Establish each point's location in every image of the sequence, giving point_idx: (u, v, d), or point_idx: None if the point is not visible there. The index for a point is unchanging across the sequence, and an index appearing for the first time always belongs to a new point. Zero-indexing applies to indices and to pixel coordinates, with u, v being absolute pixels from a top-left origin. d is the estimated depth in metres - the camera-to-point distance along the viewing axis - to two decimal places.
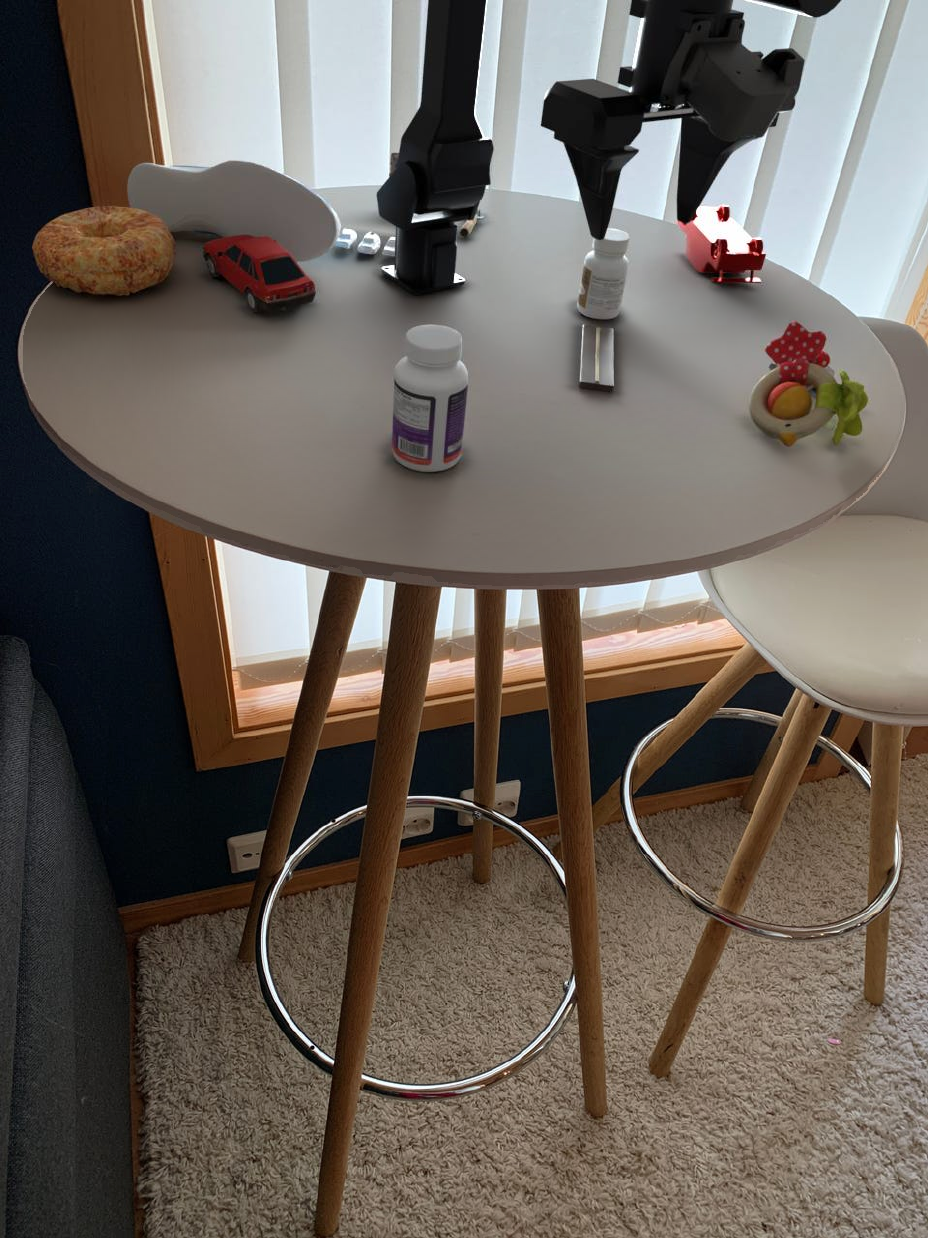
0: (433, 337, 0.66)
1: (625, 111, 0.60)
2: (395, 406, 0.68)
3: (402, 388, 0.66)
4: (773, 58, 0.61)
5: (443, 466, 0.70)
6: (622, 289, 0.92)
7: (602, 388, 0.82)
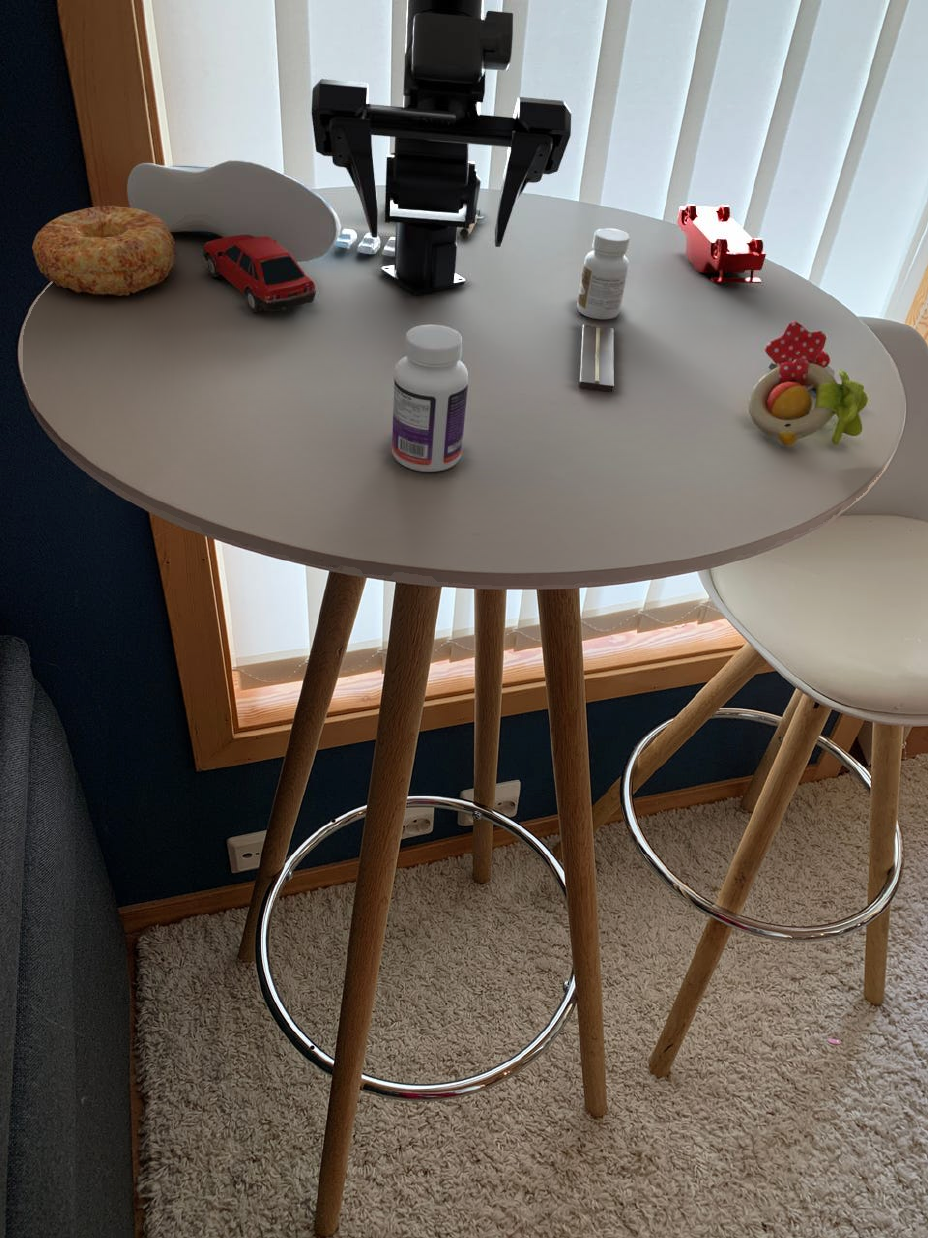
0: (433, 337, 0.66)
1: (345, 84, 0.66)
2: (395, 406, 0.68)
3: (402, 388, 0.66)
4: None
5: (443, 466, 0.70)
6: (622, 289, 0.92)
7: (602, 388, 0.82)
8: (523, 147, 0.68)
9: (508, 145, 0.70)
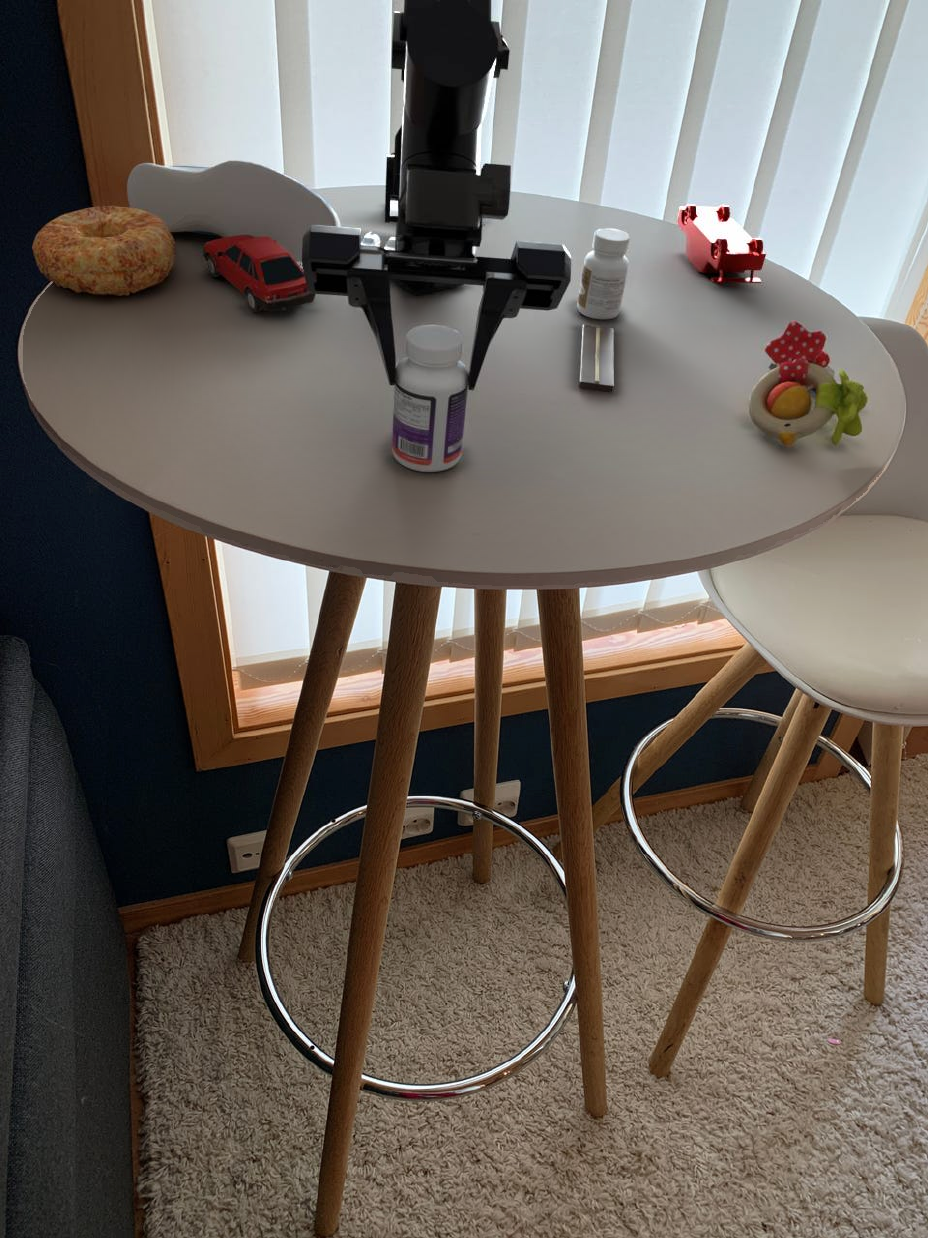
0: (434, 337, 0.66)
1: (337, 232, 0.64)
2: (395, 406, 0.68)
3: (402, 388, 0.66)
4: (482, 173, 0.62)
5: (443, 466, 0.70)
6: (622, 289, 0.92)
7: (602, 388, 0.82)
8: (497, 292, 0.65)
9: (482, 284, 0.68)
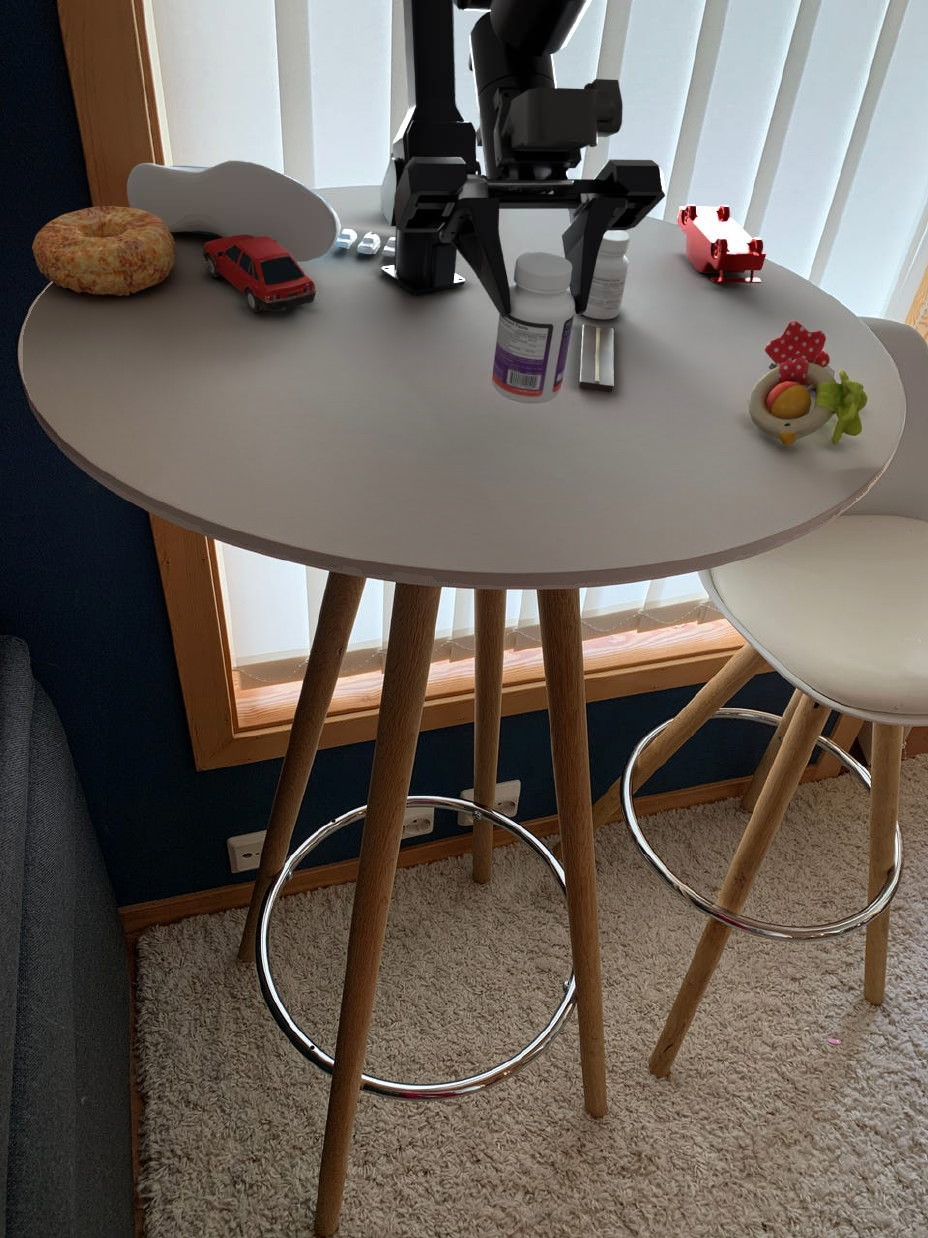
0: (544, 263, 0.65)
1: (442, 162, 0.62)
2: (505, 339, 0.67)
3: (518, 319, 0.66)
4: None
5: (552, 395, 0.70)
6: (622, 289, 0.92)
7: (602, 388, 0.82)
8: (600, 212, 0.65)
9: (573, 207, 0.68)
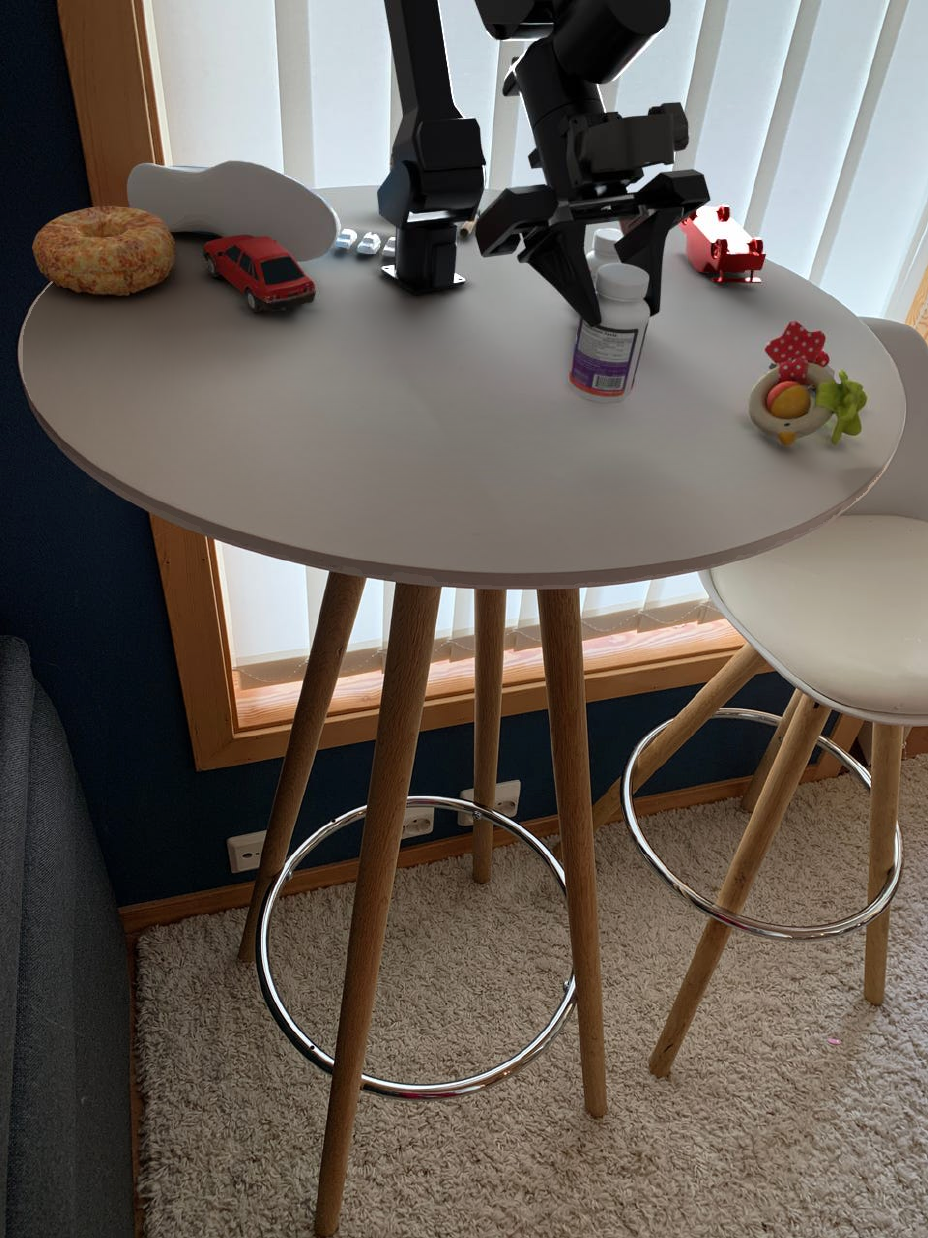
0: (624, 273, 0.71)
1: (534, 190, 0.66)
2: (591, 347, 0.73)
3: (607, 327, 0.71)
4: (652, 113, 0.67)
5: (629, 392, 0.76)
6: None
7: None
8: (664, 221, 0.71)
9: (629, 218, 0.73)
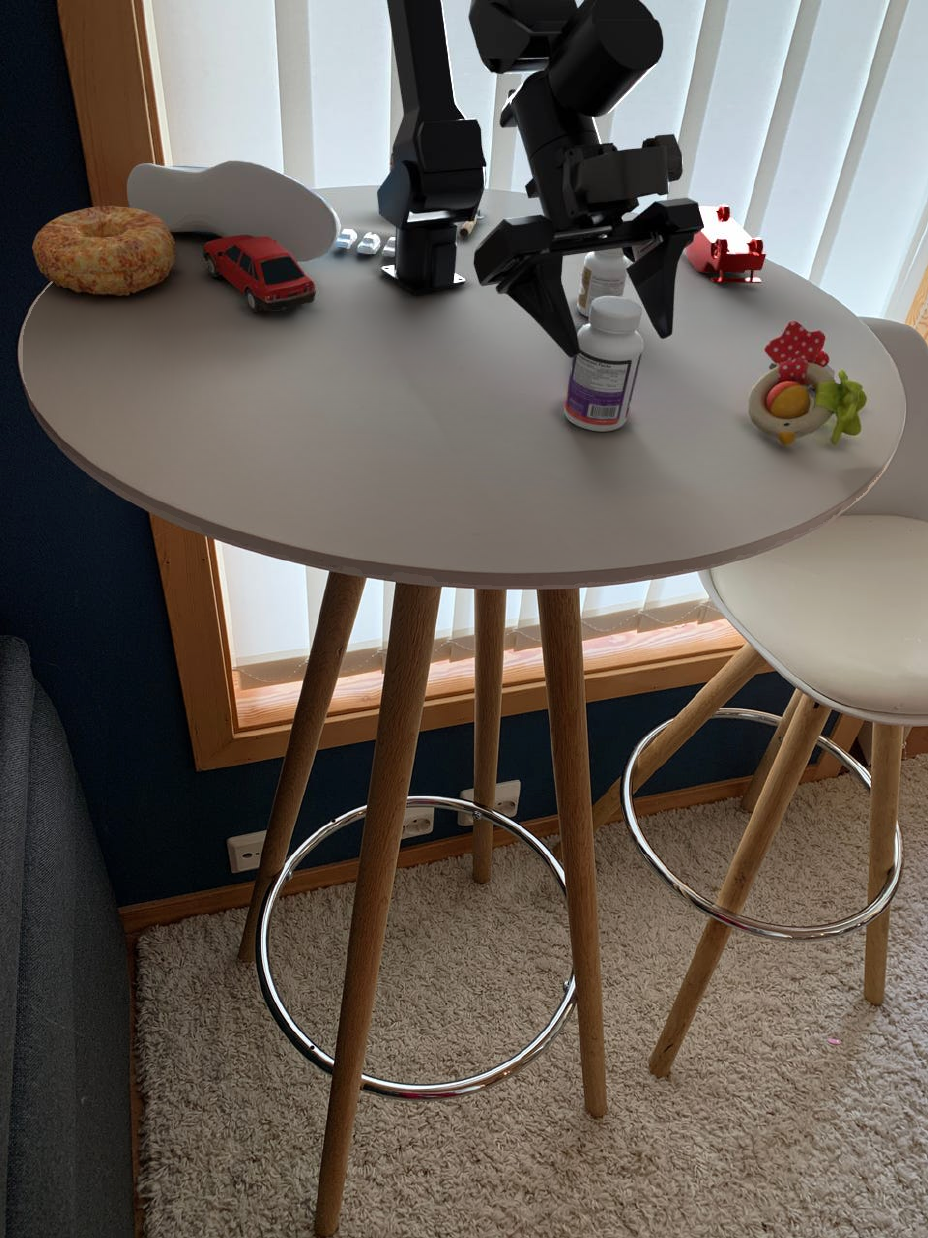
0: (617, 306, 0.72)
1: (531, 221, 0.67)
2: (586, 377, 0.74)
3: (601, 359, 0.73)
4: (646, 145, 0.68)
5: (624, 421, 0.78)
6: (622, 289, 0.92)
7: None
8: (675, 247, 0.73)
9: (642, 244, 0.75)
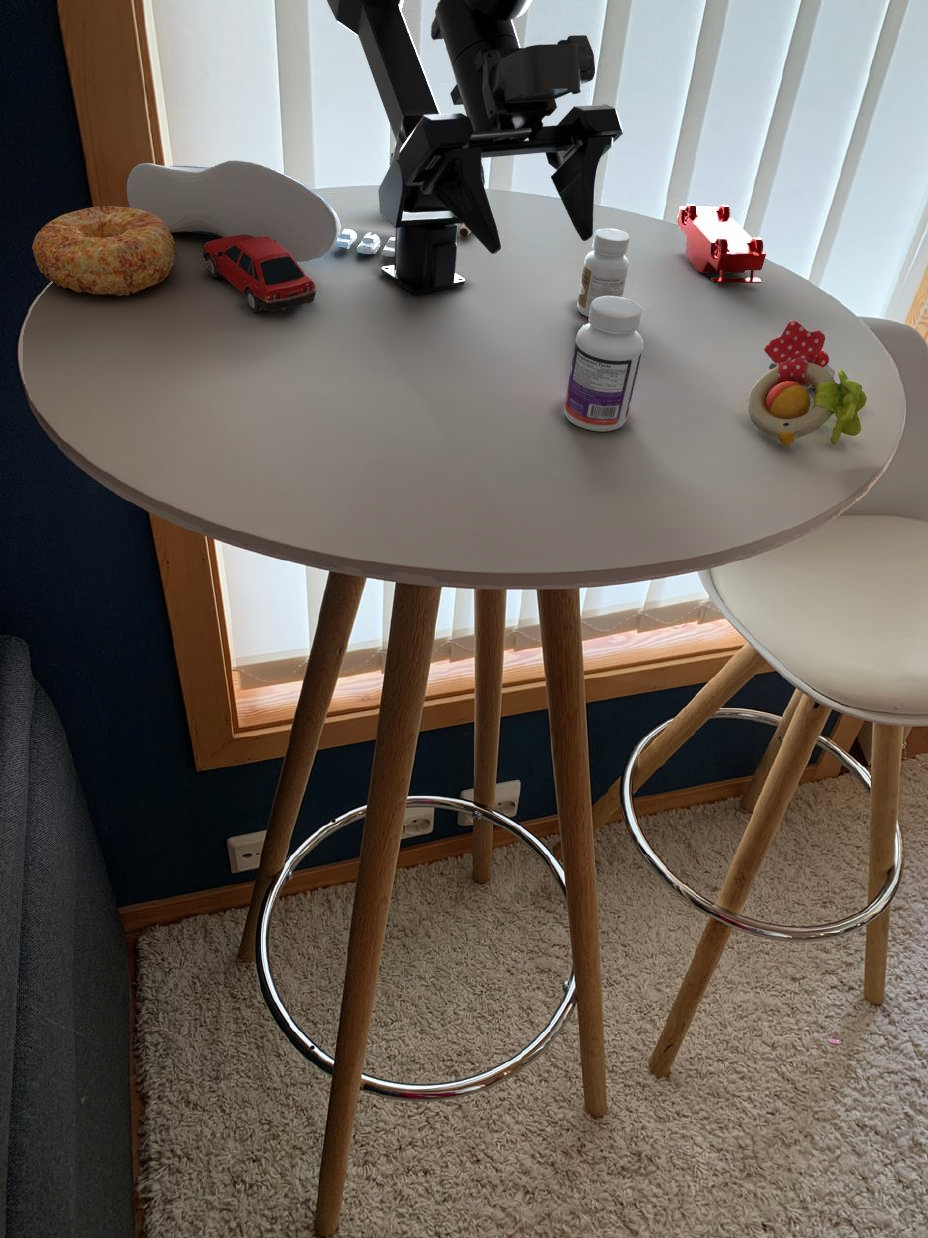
0: (617, 306, 0.72)
1: (450, 117, 0.70)
2: (586, 377, 0.74)
3: (601, 359, 0.73)
4: None
5: (624, 421, 0.78)
6: (622, 289, 0.92)
7: None
8: (594, 150, 0.77)
9: (563, 149, 0.79)
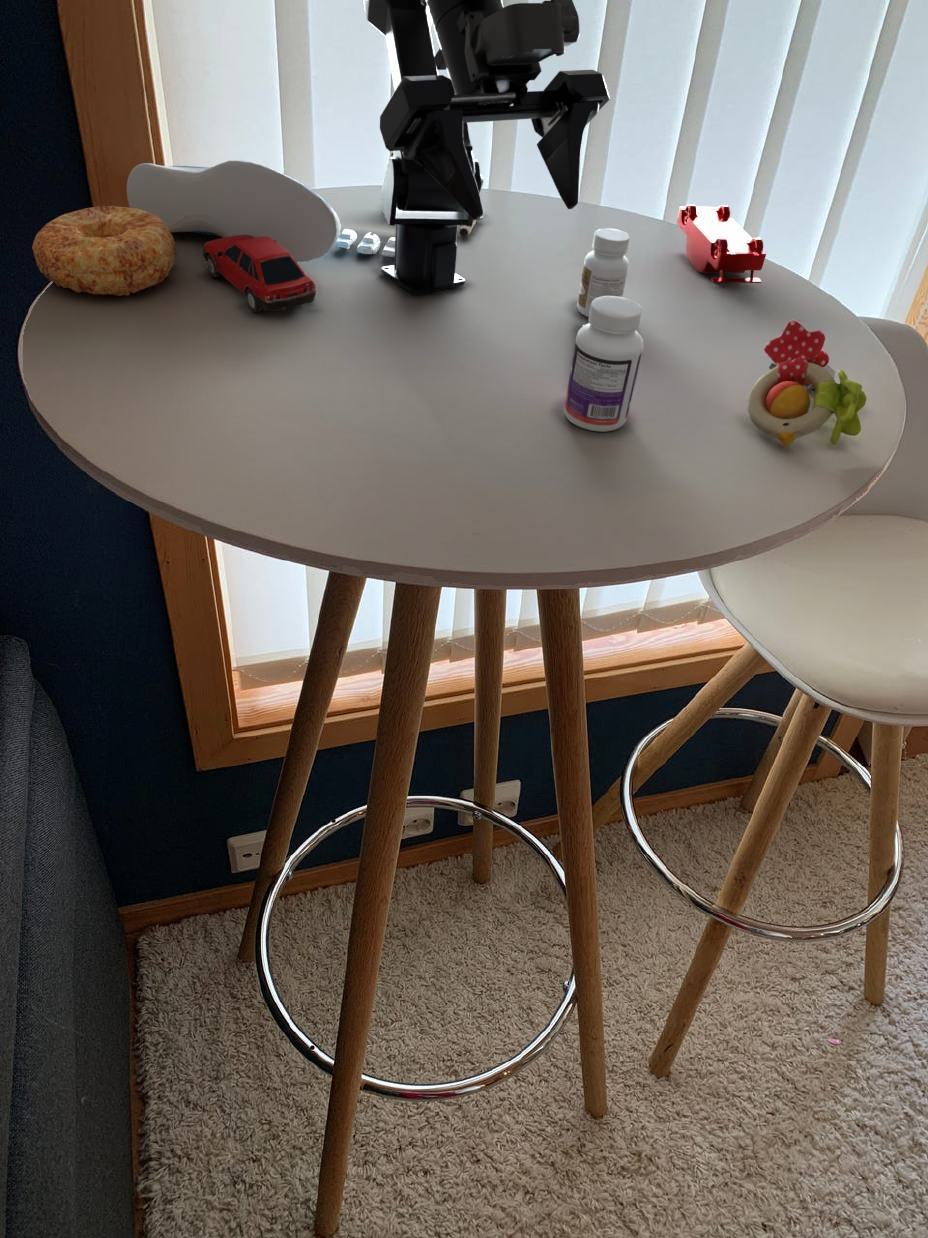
0: (617, 306, 0.72)
1: (431, 79, 0.69)
2: (586, 377, 0.74)
3: (601, 359, 0.73)
4: None
5: (624, 421, 0.78)
6: (622, 289, 0.92)
7: None
8: (579, 115, 0.75)
9: (549, 116, 0.77)
